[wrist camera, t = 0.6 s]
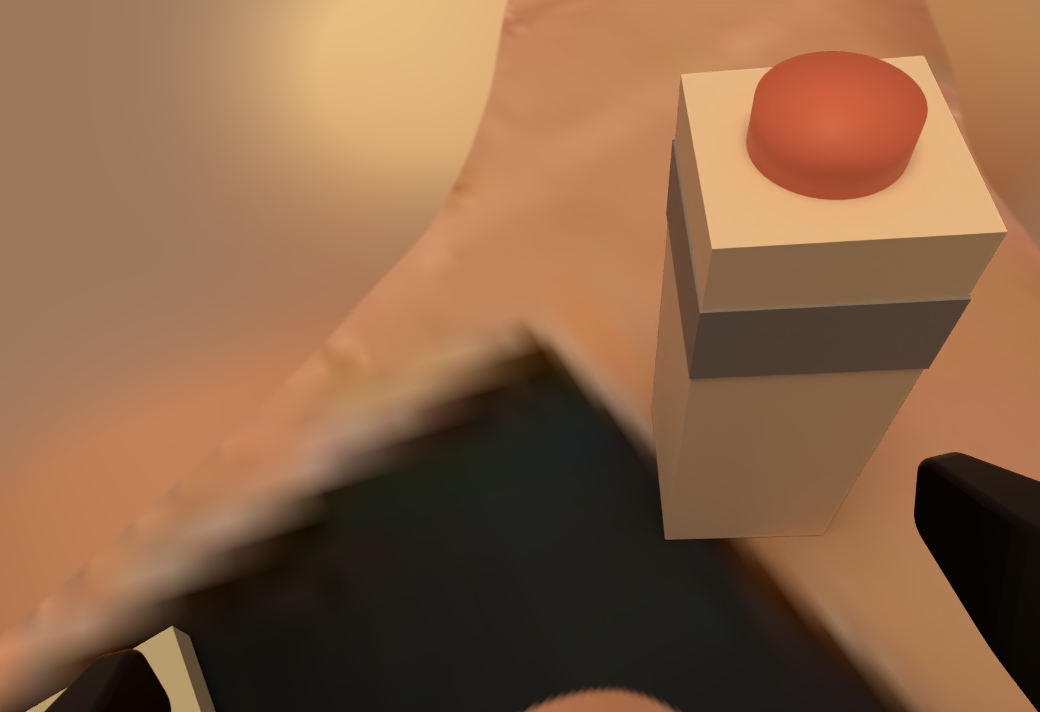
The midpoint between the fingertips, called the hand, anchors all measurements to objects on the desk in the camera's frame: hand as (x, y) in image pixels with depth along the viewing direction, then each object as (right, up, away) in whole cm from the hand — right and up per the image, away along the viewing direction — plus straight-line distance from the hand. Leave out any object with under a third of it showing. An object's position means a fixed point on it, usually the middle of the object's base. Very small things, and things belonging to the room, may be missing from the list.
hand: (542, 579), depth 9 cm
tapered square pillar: (+7, -1, +18) cm, 19 cm away
